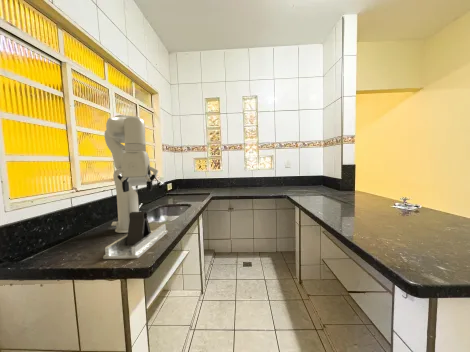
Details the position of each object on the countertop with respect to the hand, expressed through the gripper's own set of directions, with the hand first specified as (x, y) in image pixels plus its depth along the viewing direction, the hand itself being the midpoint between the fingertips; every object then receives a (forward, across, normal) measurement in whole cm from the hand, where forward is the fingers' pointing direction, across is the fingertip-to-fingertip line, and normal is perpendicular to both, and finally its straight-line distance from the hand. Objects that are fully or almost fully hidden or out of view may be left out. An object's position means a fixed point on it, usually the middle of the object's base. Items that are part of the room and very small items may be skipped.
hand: (137, 191), depth 82 cm
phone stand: (+21, 0, 0) cm, 21 cm away
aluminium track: (+22, 0, 0) cm, 22 cm away
